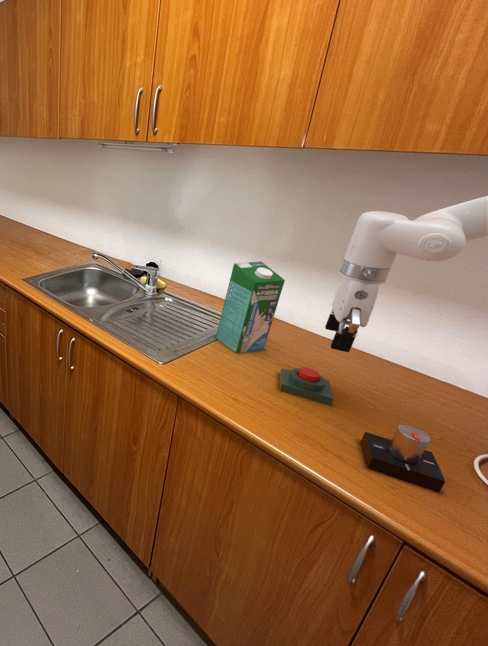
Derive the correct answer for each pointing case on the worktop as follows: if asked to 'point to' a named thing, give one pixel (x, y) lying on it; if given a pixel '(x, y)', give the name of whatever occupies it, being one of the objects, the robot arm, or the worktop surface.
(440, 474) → the dial panel
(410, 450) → the dial
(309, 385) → the button block
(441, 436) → the worktop surface
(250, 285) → the milk carton
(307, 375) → the button
